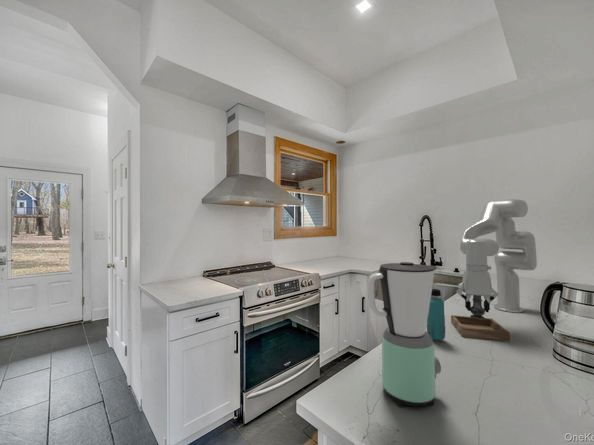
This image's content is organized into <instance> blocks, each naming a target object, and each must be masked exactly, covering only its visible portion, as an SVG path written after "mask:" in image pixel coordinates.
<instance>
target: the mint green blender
mask: <svg viewBox="0 0 594 445" xmlns="http://www.w3.org/2000/svg"><path fill="white" fill-rule="evenodd" d="M437 268H438V266H436V265H429V264H420V263H419V264H416V263H414V262H409V261H408V262H407V261H404V262H403V261H401V262H399V263H397V262H395V263H393V262H392V263H383V264H380V266H379V271H378V272H375V273H372V274H370V275H369V277H368V280H367V302H368V307H369V309H370V311H371V312H373V314H375V315H376V316H379V317H385V319H386V322H387V327H386V329H384V331H383V333H382V340H381V342H382V344H381V350H382V351H381V353H382V354H381V355H382V356H381V358H382V360H381V363H382V364H381V370H382V371H381V372H382V373H381V375H382V378H381V381H382V382H381V385H382V388H383V391H385V393H386V394H387V395H388V396H390V398H392V399H393V400H394V401H396V406H397V407H399V408H405V406H406V405H407V406H412V407H424V406H427V405H428V406H431V407H432V406H434V405H435V397H436V393H437V392H436V379H437V374H440V373H441V372H442V365H441V362H440V359H438V357H437V356H436V352H435V344H434V339H433V338H431V336H430V335H429V334H428V333H427V319H428V313H429V306H430V300H431V297H432V295H431V293H432V289H433V285H434V277H435V273H436V270H437ZM376 280H379V281H380V286H381V287H380V288H381V294H382V301H383V307H382V309H380V308H378V307H377V305H376V296H375V294H376V293H375V282H376Z"/></svg>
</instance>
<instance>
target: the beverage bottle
mask: <svg viewBox="0 0 594 445" xmlns="http://www.w3.org/2000/svg"><path fill="white" fill-rule="evenodd" d="M441 292H442V291H441V290H440V289H437V288H432V293H431V300H430V306H429V313H428V319H427V325H426V332H427V333H428V334H429V335H430V336H431V338H432V340H438V341H442V340H445V338H446V322H445V321H446V315H445V300H443V299H442V298H440V296H442V294H441Z"/></svg>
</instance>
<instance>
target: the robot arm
mask: <svg viewBox="0 0 594 445" xmlns="http://www.w3.org/2000/svg"><path fill="white" fill-rule="evenodd" d="M528 211H529V206H528V204H527V202H526V201H525V200H523V199H514V198H513V199H499V200H498V199H496V200H490V201H488V202H486V203H485V204H484V206H483V208H482V212H481V214H480V218H479V221H478V222H476V223H474V224H473V225H471V226H469V227H468V228H467V229H466V230H464V232H463V233H462V237H461V239H460V243H459V249H460V251H461V253H463V254H464V255H465V265H466V266H465V267H466V268H465V269H466V270H464V271H463V275H462V282H461V283H462V284H461V286H460V287H459V288H458V289H456V293H457V294H458V295H459V296H460V297H461V298H463V300H464V301H465V302H464V304H465V306H464V307H465V309H466V310H467V311H469V312H471V307H472V303H471V302H472V301H471V300H470V299H471V297H472V296H473V295H476V296H481V297H483V299H484V300H483V309H485V310H486V311H485V313H489V310H491V307H490V305H491V303H492V301H493V300H495V299H497V300H496V301H497V303H494V305H493V307H494V309H497V310H499V311H503V312H508V313H517V314H519V313H523V312H524V308H523V307H521V305H520V303H521V302H520V301H521V300H520V298H521V297H520V277H519V275H518V274H517V272H516V271H515V270H519V271H520V270H522V271H535V269H536V268H537V265H538V261H537V260H538V259H537V247H536V245H537V244H536V238H535V235H534V234H533V233H532V232H530V231H517V230H516V224H515V223H516V222H515V220H514V219H513V218H524V217H525V216H526V215H527V214H528ZM492 233H495V240H493V239H490V238H478V237H482V236H485V235H489V234H492ZM499 248H500V249H502V250H500V249H499ZM516 250H521V251H516ZM493 256H494V258H493V260H494V265H495V269H496V270H495V271H496V289H497V290H495V289H494V288H493V285H492V284H493V283H492V278H491V275H490V272H489V270H492V266H490V265H488V257H493ZM464 293H465V294H464Z"/></svg>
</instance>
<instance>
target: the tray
mask: <svg viewBox="0 0 594 445" xmlns="http://www.w3.org/2000/svg"><path fill="white" fill-rule="evenodd" d="M450 322H451V325H452V326H453V327H454V328H455V330H456V331H457V332H458V334H459V335H460V337H462V338H470V339H471V338H472V339H480V340H489V341H490V340H491V341H499V342H510V341H511V334H510V331H509V330H507V329H506V328H505V327H504V326H502V325H501V324H499V323H498V322H497V321H496V320H495V319H493V318H487V317H485V319H475V318H472V317H470V316H464V315H463V316H462V315H450Z"/></svg>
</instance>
